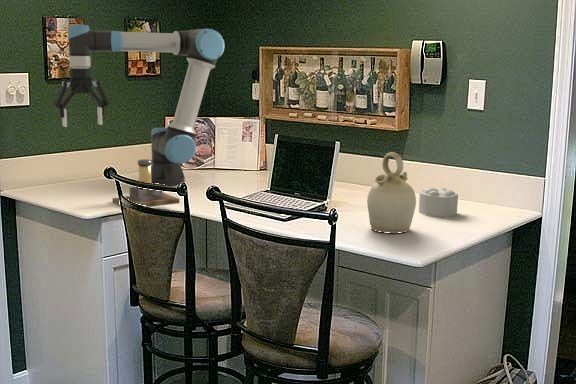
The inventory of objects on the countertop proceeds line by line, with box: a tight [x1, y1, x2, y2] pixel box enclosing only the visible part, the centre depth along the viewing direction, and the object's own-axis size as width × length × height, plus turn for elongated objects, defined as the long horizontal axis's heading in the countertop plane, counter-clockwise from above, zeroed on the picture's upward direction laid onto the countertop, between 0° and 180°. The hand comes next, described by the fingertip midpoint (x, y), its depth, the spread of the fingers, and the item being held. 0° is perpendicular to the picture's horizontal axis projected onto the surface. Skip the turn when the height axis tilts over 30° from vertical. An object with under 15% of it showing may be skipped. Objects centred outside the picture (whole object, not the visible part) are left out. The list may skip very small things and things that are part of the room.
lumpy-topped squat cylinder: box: [418, 187, 459, 218], centre depth 260 cm, size 10×13×9 cm
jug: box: [366, 151, 417, 233], centre depth 235 cm, size 15×16×25 cm
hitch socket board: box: [112, 186, 181, 207], centre depth 271 cm, size 20×14×6 cm
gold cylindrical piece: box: [137, 158, 152, 190], centre depth 270 cm, size 5×5×14 cm
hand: (82, 125), depth 276 cm, fingers open, 13 cm apart
